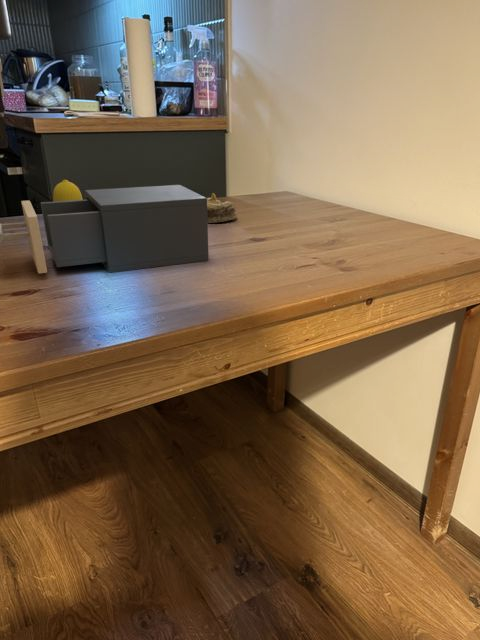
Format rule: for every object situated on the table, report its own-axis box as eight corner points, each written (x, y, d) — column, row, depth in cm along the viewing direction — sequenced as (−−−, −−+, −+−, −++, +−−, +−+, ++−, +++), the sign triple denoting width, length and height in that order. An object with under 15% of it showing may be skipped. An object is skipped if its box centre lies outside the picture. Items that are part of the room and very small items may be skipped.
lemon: (76, 224, 99) (70, 182, 96) (51, 222, 100) (44, 181, 96) (90, 218, 104) (84, 178, 100) (65, 216, 105) (59, 176, 101)
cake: (214, 229, 101) (211, 202, 98) (181, 221, 106) (178, 195, 104) (247, 217, 107) (245, 191, 104) (215, 210, 113) (212, 186, 110)
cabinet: (108, 273, 74) (100, 205, 69) (92, 250, 84) (84, 190, 79) (208, 260, 80) (207, 198, 76) (182, 240, 90) (179, 184, 86)
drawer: (1, 278, 68) (-13, 219, 64) (-2, 255, 77) (-14, 203, 73) (141, 261, 76) (136, 208, 72) (123, 242, 85) (118, 194, 81)
